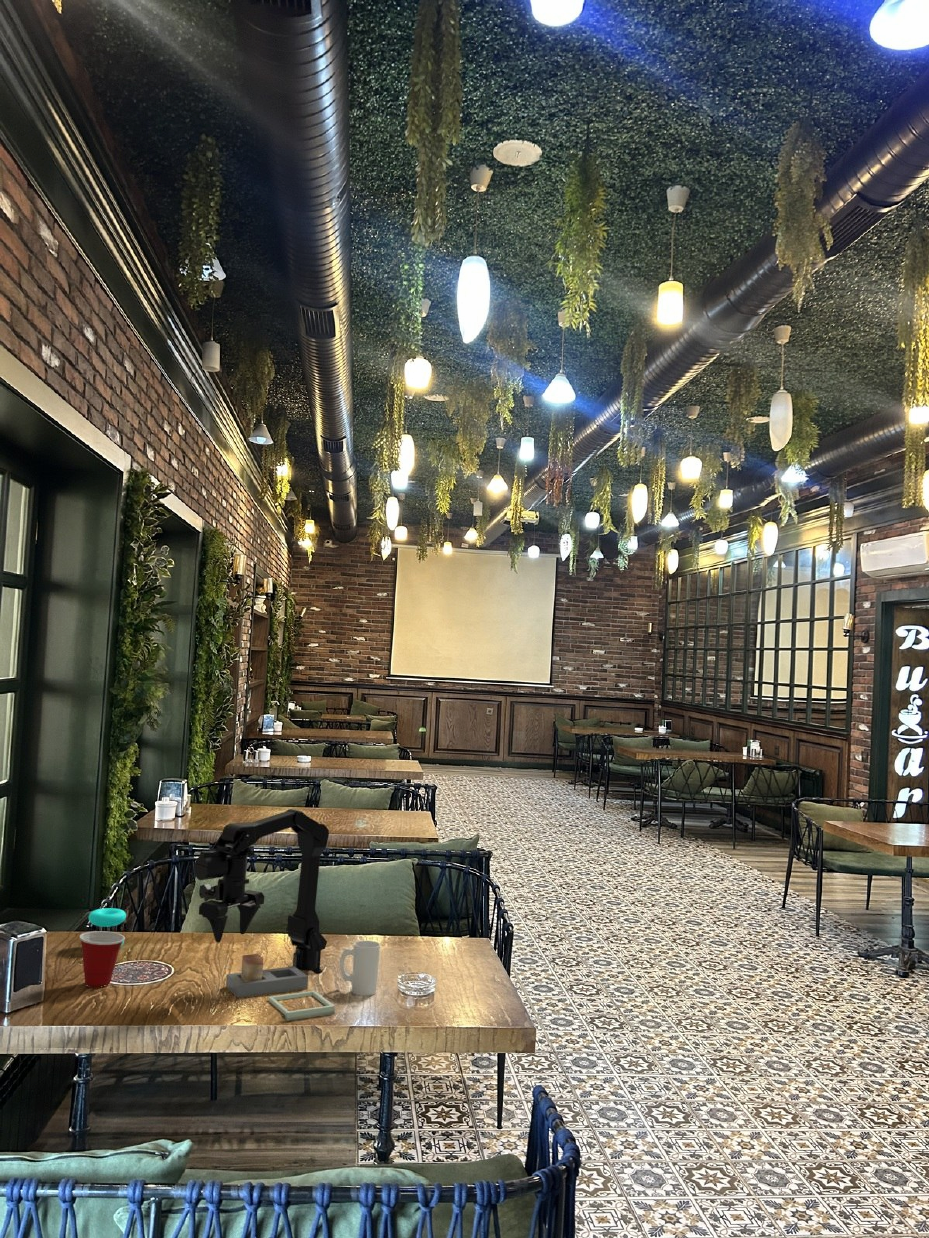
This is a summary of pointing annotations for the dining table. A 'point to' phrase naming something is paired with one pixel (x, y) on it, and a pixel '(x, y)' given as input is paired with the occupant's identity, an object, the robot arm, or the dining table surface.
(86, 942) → the plastic cup
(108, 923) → the donuts
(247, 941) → the dining table surface
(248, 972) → the plug
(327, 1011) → the tray
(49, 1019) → the dining table surface
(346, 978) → the mug
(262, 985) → the grey cinder block
